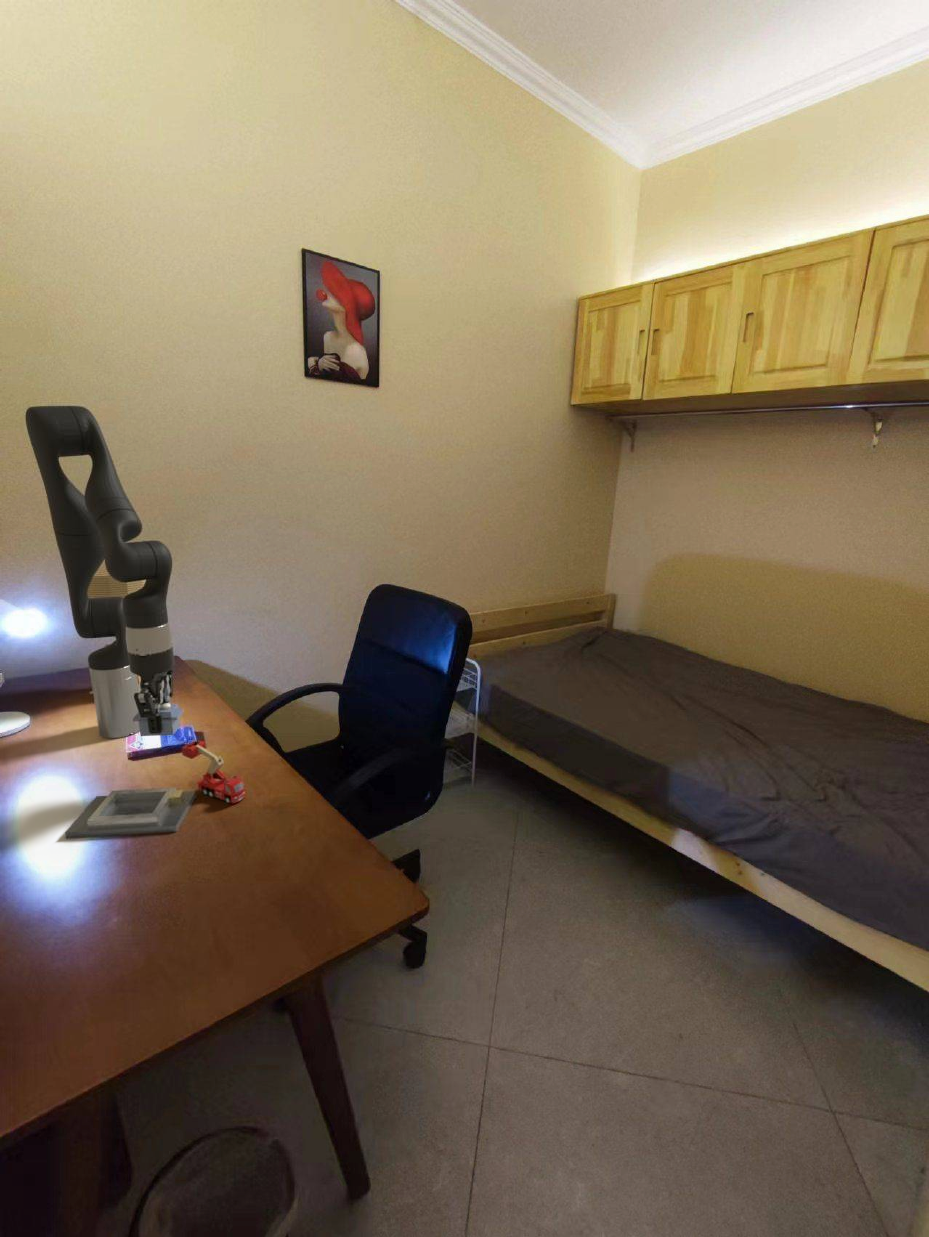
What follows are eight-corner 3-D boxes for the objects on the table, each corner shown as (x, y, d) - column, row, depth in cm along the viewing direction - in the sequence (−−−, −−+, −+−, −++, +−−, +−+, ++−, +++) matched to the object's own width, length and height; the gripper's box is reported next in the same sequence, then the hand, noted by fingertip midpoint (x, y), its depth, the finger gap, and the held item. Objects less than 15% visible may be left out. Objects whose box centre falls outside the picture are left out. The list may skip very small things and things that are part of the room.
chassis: (97, 801, 105) (95, 789, 104) (196, 796, 107) (195, 784, 107) (66, 838, 94) (63, 825, 93) (176, 831, 97) (175, 818, 96)
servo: (143, 726, 110) (139, 701, 108) (185, 725, 111) (182, 700, 109) (135, 736, 106) (131, 710, 104) (178, 734, 107) (175, 708, 106)
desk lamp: (146, 705, 147) (130, 577, 138) (74, 702, 147) (53, 574, 138) (183, 678, 166) (171, 564, 157) (120, 676, 166) (104, 562, 157)
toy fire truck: (234, 806, 105) (231, 761, 102) (185, 787, 110) (180, 745, 108) (248, 797, 108) (244, 754, 105) (199, 779, 113) (194, 738, 111)
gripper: (143, 634, 110) (153, 712, 114) (111, 659, 96) (124, 745, 101) (183, 634, 111) (191, 710, 116) (157, 658, 97) (167, 744, 102)
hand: (160, 726), depth 108 cm, fingers closed on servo, 4 cm apart
